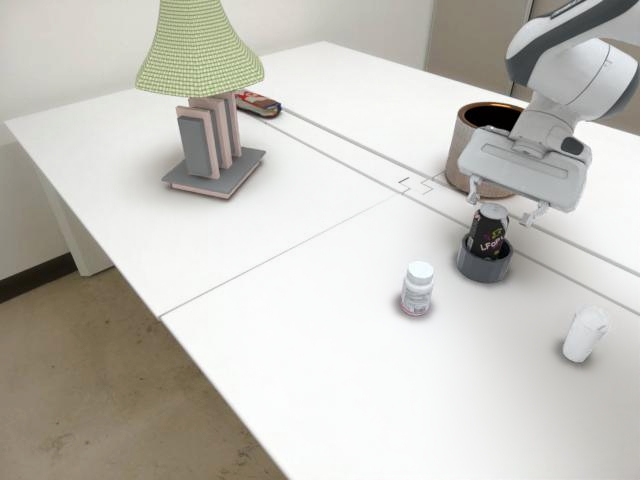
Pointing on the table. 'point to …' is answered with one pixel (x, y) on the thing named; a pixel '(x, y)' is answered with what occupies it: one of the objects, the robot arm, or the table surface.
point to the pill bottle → (417, 288)
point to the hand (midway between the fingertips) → (496, 214)
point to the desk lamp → (203, 92)
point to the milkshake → (586, 332)
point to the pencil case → (257, 103)
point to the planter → (464, 128)
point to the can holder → (484, 263)
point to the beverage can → (488, 231)
